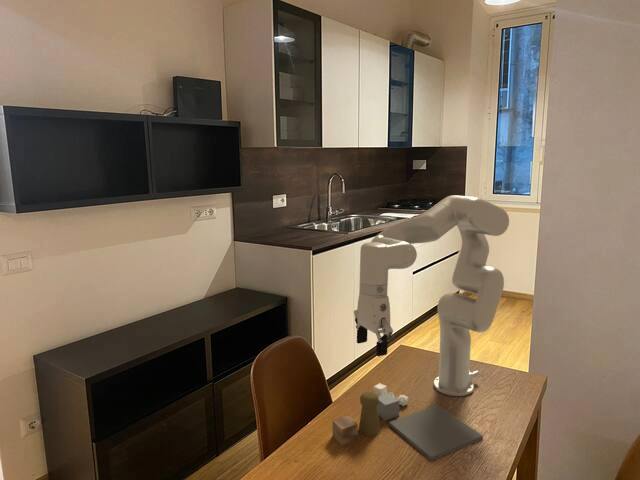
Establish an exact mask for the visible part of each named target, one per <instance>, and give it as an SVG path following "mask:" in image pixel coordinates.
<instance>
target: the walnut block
mask: <svg viewBox="0 0 640 480" xmlns="http://www.w3.org/2000/svg"><path fill="white" fill-rule="evenodd" d="M358 433H359V425H358V423H357V421H355V420H354V418H352V417H351V416H349V415H344V416H340V417H338V418H336V419H332V437H333V438H334V439H335V440H336V441H337V442H338V444H339V445H340V446H341V447H343V446H345V445H349V444H351V443H355V442H356V441H358V440H359V439H358V438H359V437H358V436H359V434H358Z"/></svg>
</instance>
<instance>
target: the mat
mask: <svg viewBox="0 0 640 480" xmlns="http://www.w3.org/2000/svg"><path fill="white" fill-rule="evenodd" d="M388 426H389V427H391V429H393V431H396V432H397V434H399V436H401V437H402V438H404V439H405V440H406V441H407V442H408V443H409V444H410V445H412V446H413V447H414V448H415V449H417V451H419V452H420V453H421V454H422V455H423V456H425V457H426V458H427V459H429V460H430V461H434V460H436V459H438V458H441V457H444V456H446V455H449V454H450V453H453V452H455V451H457V450H460V449H462V448H463V449H464V448H465V447H468V446H470V445H472V444H475V443H477V442H479V441H481V440H484V436H483V435H482V434H481V433H479V431H477V430H476V429H474V428H472V427H471V426H469V425H468V424H466V422H463V421H462V420H460V419H459V418H457V416H455V415H453V414H452V413H450V412H449V411H447V410H446V409H444V408H443V407H441V406H440V405H438V404H435V405H433V406H431V407H428V408H425V409H422V410H420V411H415V412H414V413H410V414H408V415H405V416H402V417H399V418H397V419H394V420H391V421H389V422H388Z"/></svg>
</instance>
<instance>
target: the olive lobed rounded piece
mask: <svg viewBox="0 0 640 480" xmlns="http://www.w3.org/2000/svg"><path fill="white" fill-rule="evenodd" d="M359 402H360V404H361V410H360V411H361V412H360V417H359V425H358V432H359V433H360V434H362V435H363V436H366V437H373V436H377V435H378V434H380V433H381V427H380V419H379V415H378V411H377V405H378V403H379V398H378V395H377V394H376V393H374V391H369V390H368V391H364V392H362V394H361V395H360V397H359Z"/></svg>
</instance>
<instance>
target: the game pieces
mask: <svg viewBox="0 0 640 480" xmlns="http://www.w3.org/2000/svg"><path fill="white" fill-rule="evenodd" d="M387 388H388V387H387V385H384V384H383V383H381V382H380V383H377V384H376V385H374V386H373V392H374V393H376V394H377V395H378V396H381V395H384V394H387V393H388V391H387V390H388V389H387ZM389 393H390V394H391V395H393V396H394V397H395V394H394V392H392V391H390V392H389ZM395 398H397V399H398V400H399V406H402V407H404V406H406V405H407V404H408V403H409V401H410V399H409V396H406V395H405V394H399V396H396V397H395Z"/></svg>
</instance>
